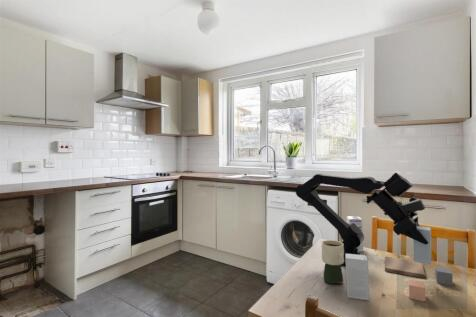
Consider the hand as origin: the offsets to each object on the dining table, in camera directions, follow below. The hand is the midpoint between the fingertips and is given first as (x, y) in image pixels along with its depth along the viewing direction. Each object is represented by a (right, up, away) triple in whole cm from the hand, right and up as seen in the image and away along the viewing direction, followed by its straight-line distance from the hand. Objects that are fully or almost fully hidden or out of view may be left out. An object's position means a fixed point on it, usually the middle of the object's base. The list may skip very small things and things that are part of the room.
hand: (427, 241), depth 84 cm
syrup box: (-9, -14, +32) cm, 36 cm away
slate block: (-1, -7, +1) cm, 7 cm away
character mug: (-30, -14, +2) cm, 34 cm away
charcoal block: (+6, -14, 0) cm, 15 cm away
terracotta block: (-9, -14, -8) cm, 19 cm away
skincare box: (-27, -14, -7) cm, 31 cm away
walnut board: (-1, -13, +11) cm, 18 cm away
